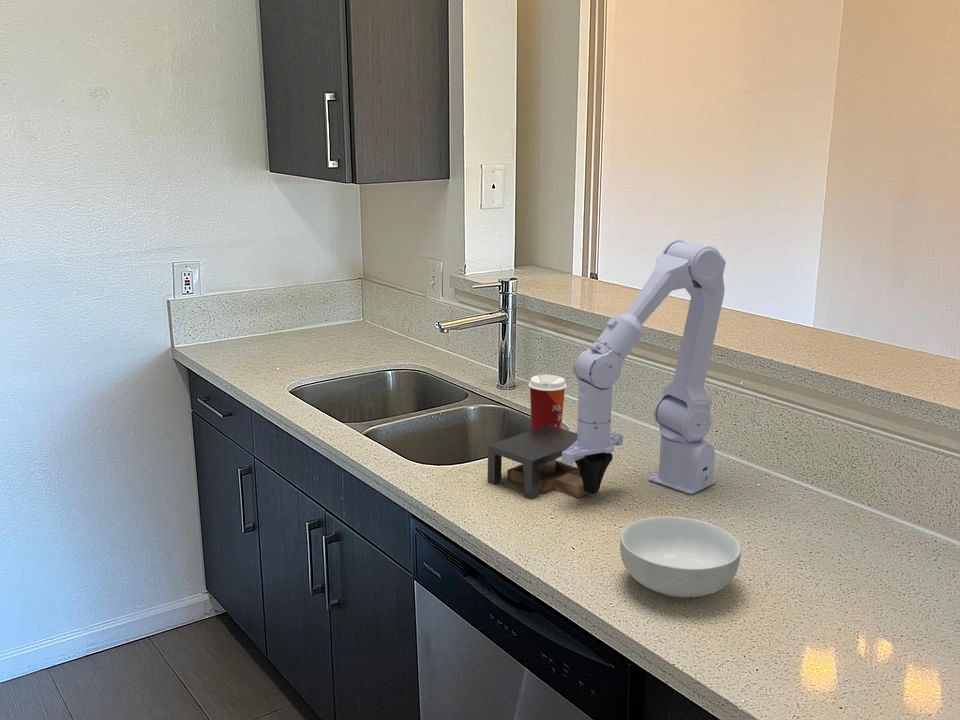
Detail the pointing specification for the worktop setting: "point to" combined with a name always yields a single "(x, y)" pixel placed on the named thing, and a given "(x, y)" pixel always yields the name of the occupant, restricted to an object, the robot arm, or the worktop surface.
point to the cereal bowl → (679, 555)
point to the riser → (529, 454)
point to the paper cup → (547, 400)
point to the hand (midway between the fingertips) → (591, 491)
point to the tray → (552, 478)
